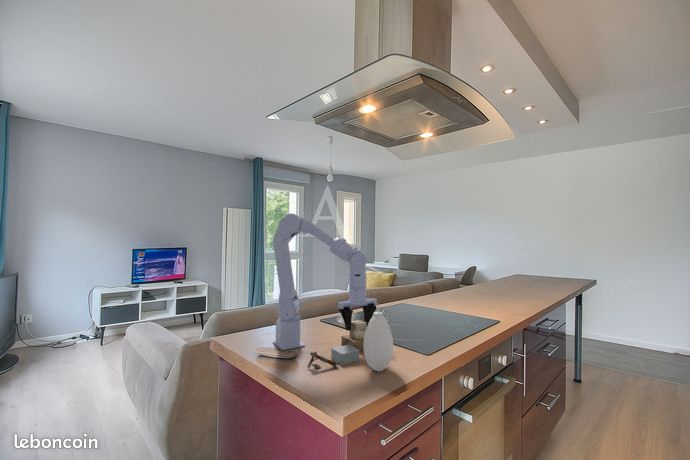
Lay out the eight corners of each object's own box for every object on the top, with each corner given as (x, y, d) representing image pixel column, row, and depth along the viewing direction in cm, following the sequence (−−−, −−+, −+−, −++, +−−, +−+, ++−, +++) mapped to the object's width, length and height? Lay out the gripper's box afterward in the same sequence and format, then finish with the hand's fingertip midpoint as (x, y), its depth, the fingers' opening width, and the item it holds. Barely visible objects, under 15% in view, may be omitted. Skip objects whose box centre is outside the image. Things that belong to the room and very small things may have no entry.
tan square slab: (341, 345, 106) (341, 336, 106) (360, 341, 110) (360, 332, 110) (354, 351, 99) (354, 342, 99) (374, 347, 103) (374, 338, 103)
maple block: (349, 336, 105) (349, 321, 105) (359, 334, 107) (359, 319, 107) (356, 339, 102) (356, 324, 102) (366, 337, 104) (366, 322, 104)
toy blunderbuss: (304, 364, 86) (311, 349, 87) (330, 375, 87) (337, 359, 88) (304, 367, 84) (311, 351, 85) (331, 377, 85) (338, 362, 86)
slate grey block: (331, 358, 93) (331, 348, 93) (348, 354, 96) (348, 344, 97) (341, 364, 88) (341, 354, 88) (359, 360, 91) (359, 350, 91)
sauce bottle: (378, 362, 90) (377, 299, 91) (399, 370, 84) (398, 303, 85) (358, 369, 85) (357, 302, 86) (378, 378, 79) (378, 306, 80)
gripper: (345, 290, 98) (345, 334, 97) (382, 287, 106) (382, 327, 105) (334, 287, 104) (334, 329, 103) (369, 284, 112) (369, 323, 111)
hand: (357, 328), depth 105 cm, fingers open, 7 cm apart
